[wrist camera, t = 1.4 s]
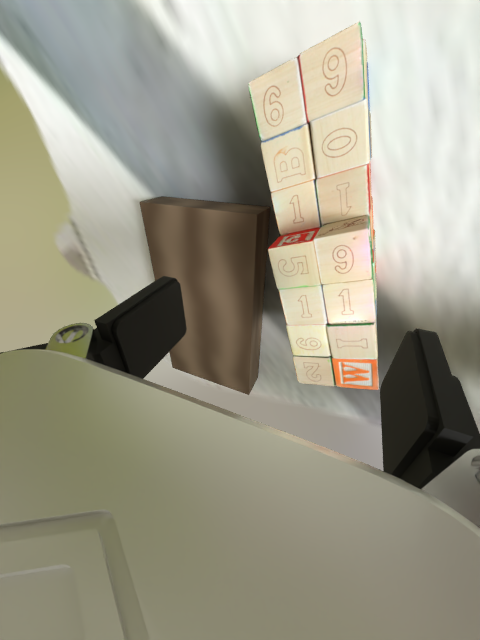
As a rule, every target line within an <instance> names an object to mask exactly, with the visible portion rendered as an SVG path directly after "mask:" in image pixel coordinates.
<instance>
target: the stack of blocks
mask: <svg viewBox="0 0 480 640" xmlns="http://www.w3.org/2000/svg"><path fill="white" fill-rule="evenodd" d="M248 85H249V92H250V96H251V100H252V105H253V110H254V114H255V119H256V124H257V128H258V132H259V137H260V139H261V150H262V155H263V160H264V164H265V169H266V173H267V178H268V183H269V188H270V191H271V199H272V203H273V208H274V212H275V216H276V220H277V225H278V229H279V232H280V234H281V236H280V237H278V238H277V239H276V241H275V242H274V243H272V245H271V246H270V247H269V248H268V253H269V257H270V261H271V265H272V269H273V273H274V278H275V282H276V286H277V288H278V289H279V294H280V299H281V303H282V307H283V310H284V315H285V319H286V323H287V324H286V328H287V333H288V337H289V341H290V345H291V350H292V353H293V361H294V365H295V370H296V374H297V379H298V382H299V383H304V384H314V385H324V386H331V387H334V385H336V386H338V387H346V388H358V389H371V390H378V389H379V380H378V344H377V286H376V253H375V230H374V229H373V205H372V196H371V169H370V159H371V157H372V144H371V114H370V108H369V80H368V63H367V50H366V42H365V39H363V38H362V28H361V23H360V21H359V22H357V23H356V24H354V25H352V26H350V27H348V28H346V29H344V30H343V31H341V32H339V33H337V34H335V35H333V36H332V37H330V38H328V39H326V40H324V41H323V42H321V43H319V44H317V45H315V46H313V47H311V48H309V49H308V50H306V51H304V52H302V53H300V55H299V56H298V57H296V58H294V59H292V60H290V61H288V62H286V63H284V64H282V65H280V66H278V67H276V68H275V69H273V70H271V71H269V72H268V73H266V74H264V75H262V76H260V77H258V78H256V79H254V80H253V81H251V82H249V84H248Z"/></svg>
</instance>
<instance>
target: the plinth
mask: <svg viewBox="0 0 480 640" xmlns="http://www.w3.org/2000/svg"><path fill="white" fill-rule="evenodd" d="M140 206H141V211H142V216H143V221H144V226H145V231H146V236H147V241H148V246H149V251H150V256H151V261H152V266H153V271H154V276H155V281H156V280H158V279H159V278H161V277H162V276H168V277H172V278H176V279H177V281H178V282H179V283H180V285H181V292H182V299H183V306H184V313H185V320H186V327H187V330H186V334H185V335H184V337H183V338H182V339H181V340H180V341H179V342H178V343H177V344H176V345H175V346H174V347H173V348H172V349H171V350H170V356H171V361H172V366H173V368H175V369H178V370H181V371H184V372H186V373H189V374H192V375H195V376H198V377H200V378H203V379H206V380H209V381H212V382H214V383H217V384H220V385H223V386H226V387H228V388H231V389H234V390H237V391H240V392H242V393H245V394H248V395H249V394H250V392H251V390H252V388H253V386H254V384H255V382H256V380H257V378H258V369H259V355H260V341H261V327H262V314H263V300H264V286H265V272H266V258H267V244H268V230H269V217H270V207H266V206H256V205H245V204H235V203H224V202H214V201H204V200H193V199H183V198H173V197H158V198H154V199H150V200H146V201H142V202H140Z"/></svg>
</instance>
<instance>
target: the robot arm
mask: <svg viewBox="0 0 480 640" xmlns="http://www.w3.org/2000/svg"><path fill="white" fill-rule="evenodd" d="M95 323H96V326H97V328H96V329H93V327H92V326H91V325H89V324H86V323H76V324H71V325H68V326H65V327H63V328H61V329H59V330H58V331H57V332H55V333H54V334H53V335H52V337H51V338H50V341H49V343H46V344H42V345H36V346H32V347H27V348H22V349H17V350H13V351H8V352H1V353H0V640H480V434H479V431H478V428H477V426H476V423H475V420H474V418H473V415H472V413H471V410H470V407H469V405H468V402H467V399H466V397H465V394H464V391H463V389H462V386H461V384H460V381H459V380H458V378H457V377H455V376H452V375H451V372H450V369H449V366H448V363H447V360H446V358H445V355H444V352H443V349H442V346H441V344H440V341H439V338H438V335H437V333H435V332H431V331H426V330H421V329H415V330H414V331H413V332H411V331H408V332H407V333H406V335H405V337H404V339H403V341H402V343H401V345H400V347H399V349H398V351H397V353H396V355H395V358H394V360H393V362H392V364H391V366H390V368H389V370H388V372H387V374H386V376H385V378H384V380H383V382H382V385H381V389H380V400H381V422H382V445H383V467H384V471H381V470H379V469H377V468H374V467H372V466H370V465H368V464H365V463H363V462H360V461H358V460H355V459H352V458H350V457H348V456H345V455H342V454H340V453H337V452H335V451H332V450H330V449H327V448H325V447H322V446H320V445H317V444H315V443H312V442H310V441H307V440H304V439H301V438H299V437H296V436H294V435H291V434H288V433H286V432H283V431H281V430H278V429H275V428H272V427H270V426H267V425H265V424H262V423H259V422H257V421H254V420H252V419H249V418H246V417H244V416H241V415H238V414H236V413H233V412H230V411H228V410H225V409H222V408H220V407H217V406H214V405H212V404H209V403H206V402H204V401H201V400H198V399H196V398H193V397H190V396H187V395H185V394H182V393H179V392H177V391H174V390H171V389H169V388H166V387H163V386H160V385H157V384H155V383H152V382H149V381H147V380H144V379H143V378H144V377H145V376H146V375H147V374H148V373H149V372H150V371H151V370H152V369H153V368H154V367H155V366H156V365H157V364H158V363H159V362H160V361H161V360H162V359H163V357H164V356H165V355H166V354H167V353H168V352H169V351H170V350H171V349H172V348H173V347H174V346H175V345H176V344H177V343H178V342H179V341H180V340H181V339H182V338H183V337H184V335H185V334H186V330H187V327H186V320H185V313H184V306H183V299H182V292H181V285H180V283H179V282H178V281H177V279H176V278H172V277H168V276H162V277H161V278H159V279H158V280H156V281H155V282H153V283H152V284H150V285H148V286H147V287H145V288H144V289H142V290H141V291H139V292H138V293H136V294H135V295H133V296H131V297H130V298H128V299H127V300H125V301H124V302H122V303H121V304H119V305H118V306H116V307H115V308H113V309H111V310H110V311H108V312H107V313H105V314H104V315H102V316H101V317H99V318H97V319H96V320H95Z"/></svg>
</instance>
